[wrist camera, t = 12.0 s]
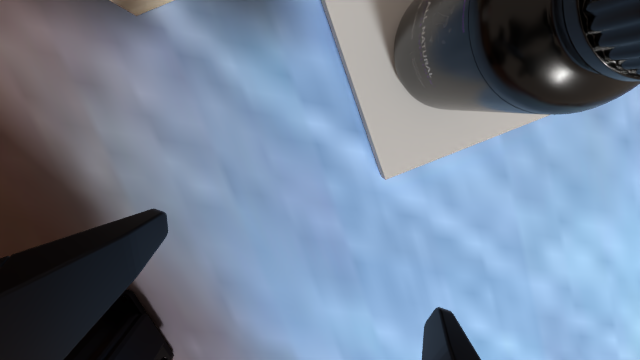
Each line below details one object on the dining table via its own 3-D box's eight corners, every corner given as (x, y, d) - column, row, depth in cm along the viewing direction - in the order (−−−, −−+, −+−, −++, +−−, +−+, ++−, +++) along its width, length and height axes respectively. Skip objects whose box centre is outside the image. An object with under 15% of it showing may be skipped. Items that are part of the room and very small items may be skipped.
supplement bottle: (365, 45, 16) (528, -104, 5) (460, -46, 16) (922, -483, 4) (436, 134, 18) (688, 183, 6) (525, 55, 17) (994, -52, 6)
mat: (381, 176, 19) (385, 179, 18) (316, -15, 16) (317, -22, 15) (549, 109, 19) (563, 109, 18) (515, -97, 16) (529, -110, 15)
